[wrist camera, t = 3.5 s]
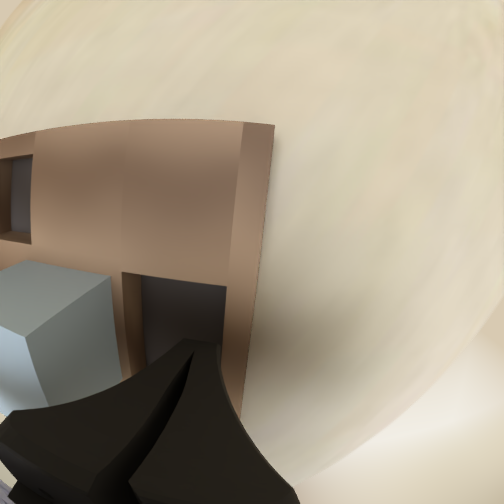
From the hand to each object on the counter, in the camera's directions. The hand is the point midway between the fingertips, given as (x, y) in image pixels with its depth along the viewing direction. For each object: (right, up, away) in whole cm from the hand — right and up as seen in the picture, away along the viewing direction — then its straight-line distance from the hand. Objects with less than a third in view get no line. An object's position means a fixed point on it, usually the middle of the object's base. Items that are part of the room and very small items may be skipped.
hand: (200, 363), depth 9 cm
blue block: (-6, +1, +1) cm, 6 cm away
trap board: (-7, +1, +3) cm, 8 cm away
